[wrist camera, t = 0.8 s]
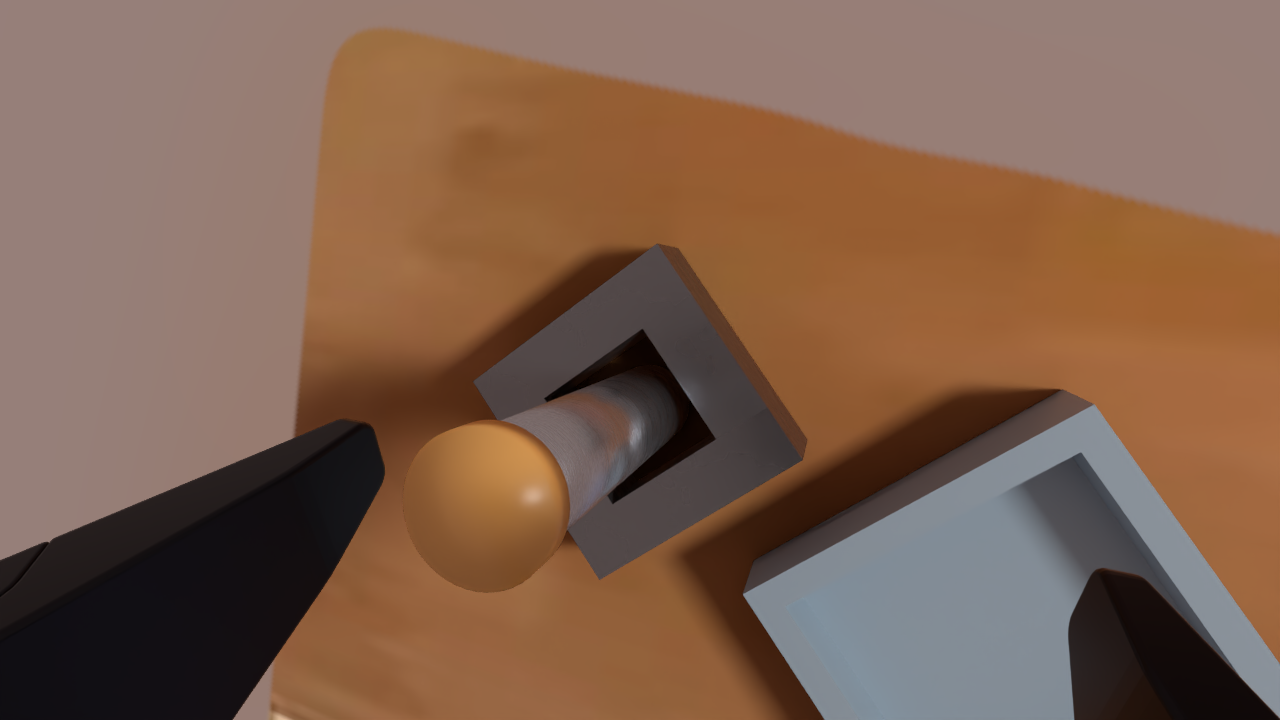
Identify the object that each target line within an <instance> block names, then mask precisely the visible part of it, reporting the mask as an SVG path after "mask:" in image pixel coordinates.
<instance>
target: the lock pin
mask: <svg viewBox="0 0 1280 720" xmlns="http://www.w3.org/2000/svg"><path fill="white" fill-rule="evenodd" d="M688 413H689V398H688V396H687V394H686V393H685V391H684V390H683V388H682V387H681V385H680V384H679V382H678V381H677V379H676V378H675V376H674V375H673V373H672V372H671V371H670V370H668V369H666V368H664V367H661V366H657V365H642V366H638V367H636V368H633V369H631V370H628V371H625V372H623V373H620V374H618V375H615V376H613V377H610V378H608V379H605V380H603V381H600V382H597V383H595V384H592V385H590V386H587V387H585V388H582V389H580V390H577V391H575V392H572V393H570V394H567V395H564V396H562V397H559V398H557V399H554V400H552V401H549V402H547V403H544V404H542V405H539V406H536V407H534V408H531V409H529V410H526V411H524V412H521V413H519V414H516V415H514V416H511V417H508V418H506V419H503V420H501V421H500V420H479V421H474V422H471V423H467V424H465V425H462V426H459V427H456V428H454V429H451V430H448V431H446V432H444V433H441V434H439V435H437V436H436V437H434V438H433V439H431V440H430V441H429V442H428V443H426V444H425V445H424V446H423V447H422V448H421V450H420V451H419V452H418V453H417V455H416V456H415V458H414V459H413V461H412V463H411V465H410V467H409V469H408V472H407V475H406V478H405V483H404V488H403V512H404V518H405V522H406V526H407V529H408V532H409V535H410V537H411V539H412V542H413V543H414V545H415V547H416V549H417V551H418V552H419V554H420V555H421V556H422V558H423V559H424V560H425V561H426V563H427V564H428V565H429V566H430V567H431V568H432V569H433V570H434V571H435V572H436V573H437V574H439V575H440V576H441V577H443V578H444V579H446V580H447V581H449V582H451V583H453V584H454V585H456V586H459V587H461V588H464V589H467V590H471V591H475V592H484V593H488V592H499V591H504V590H507V589H510V588H513V587H515V586H517V585H519V584H521V583H523V582H524V581H525V580H527V579H528V578H530V577H531V576H532V575H533V574H534V573H535V572H536V571H537V570H538V569H539V568H540V567H541V566H543V565H544V564H545V563H546V562H547V561H548V560H549V559H550V558H551V557H552V556H553V555H554V553H555V552H556V551H557V549H558V548H559V546H560V544H561V543H562V541H563V539H564V536H565V534H566V531H567V530H568V529H570V528H571V527H572V526H573V525H574V524H575V523H576V522H577V521H579V520H580V519H581V518H582V517H583V516H584V515H585V514H587V513H588V512H589V511H590V510H591V509H592V508H593V507H594V506H596V505H597V504H598V503H599V502H600V501H601V500H602V499H603V498H605V497H606V496H607V495H608V494H609V493H610V492H611V491H612V490H614V489H615V488H616V487H617V486H618V485H619V484H620V483H622V482H623V481H624V480H625V479H626V478H627V477H628V476H629V475H631V474H632V473H633V472H634V471H635V470H636V469H637V468H638V467H640V466H641V465H642V464H643V463H644V462H645V461H646V460H647V459H649V458H650V457H651V456H652V455H653V454H654V453H655V452H657V451H658V450H659V449H660V448H661V447H662V446H663V445H664V444H666V443H667V442H668V441H669V440H670V439H671V438H672V437H673V436H675V435H676V434H677V433H678V432H679V431H680V430H681V428H682V427H683V426H684V424H685V422H686V420H687V417H688Z"/></svg>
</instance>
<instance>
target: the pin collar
mask: <svg viewBox="0 0 1280 720" xmlns="http://www.w3.org/2000/svg"><path fill="white" fill-rule="evenodd" d="M647 336H648V337H649V339H650V340H651V342H652V343H653V345H654V346H655V348H656V349H657V351H658V352H659V354H660V355H661V357H662V358H663V360H664V361H665V363H666V364H667V366H668V367H669V369H670V370H671V372H672V373H673V375H674V376H675V378H676V379H677V381H678V382H679V384H680V385H681V387H682V388H683V390H684V391H685V393H686V394H687V396H688V397H689V399H690V400H691V402H692V404H693V405H694V407H695V408H696V410H697V411H698V413H699V414H700V416H701V417H702V419H703V420H704V422H705V423H706V425H707V426H708V428H709V429H710V431H711V432H712V434H711V435H709V436H708V437H706V438H705V439H703V440H701V441H700V442H698V443H697V444H695V445H694V446H692V447H690V448H689V449H687V450H686V451H684V452H682V453H681V454H679V455H678V456H676V457H675V458H673V459H671V460H670V461H668V462H667V463H665V464H663V465H662V466H660V467H659V468H657V469H655V470H654V471H652V472H651V473H649V474H648V475H646V476H644V477H643V478H641V479H640V480H638V481H637V480H636V479H635V477H634V476H633V474H631V475H629V476H628V477H627V478H626V479H625V480H624V481H623V482H622V483H620V484H619V485H618V486H617V487H616V488H615V489H614V490H612V491H611V492H610V493H609V494H608V495H607V496H606V497H605V498H603V499H602V500H601V501H600V502H599V503H598V504H597V505H596V506H594V507H593V508H592V509H591V510H590V511H589V512H588V513H587V514H585V515H584V516H583V517H582V518H581V519H580V520H579V521H577V522H576V523H575V524H574V525H573V526H572V527H571V528H570V529H568V531H569V533H570V534H571V536H572V537H573V539H574V540H575V542H576V544H577V545H578V547H579V548H580V550H581V551H582V553H583V555H584V556H585V558H586V559H587V561H588V562H589V564H590V566H591V567H592V569H593V570H594V572H595V573H596V575H597V576H598V578H599V580H600V579H602V578H603V577H605V576H607V575H608V574H610V573H612V572H614V571H615V570H617V569H619V568H620V567H622V566H624V565H625V564H627V563H629V562H631V561H632V560H634V559H636V558H637V557H639V556H641V555H642V554H644V553H646V552H647V551H649V550H651V549H653V548H654V547H656V546H658V545H659V544H661V543H663V542H664V541H666V540H668V539H670V538H671V537H673V536H675V535H676V534H678V533H680V532H681V531H683V530H685V529H686V528H688V527H690V526H692V525H693V524H695V523H697V522H698V521H700V520H702V519H703V518H705V517H707V516H709V515H710V514H712V513H714V512H715V511H717V510H719V509H720V508H722V507H724V506H725V505H727V504H729V503H731V502H732V501H734V500H736V499H737V498H739V497H741V496H742V495H744V494H746V493H748V492H749V491H751V490H753V489H754V488H756V487H758V486H759V485H761V484H763V483H765V482H766V481H768V480H770V479H771V478H773V477H775V476H776V475H778V474H780V473H781V472H783V471H785V470H787V469H788V468H790V467H792V466H793V465H795V464H797V463H798V462H800V461H802V460H803V457H804V453H805V448H806V444H807V439H806V437H805V436H804V434H803V433H802V431H801V430H800V428H799V427H798V425H797V424H796V422H795V421H794V419H793V418H792V416H791V415H790V413H789V412H788V410H787V409H786V407H785V406H784V404H783V403H782V402H781V400H780V399H779V397H778V396H777V394H776V393H775V391H774V390H773V388H772V387H771V385H770V384H769V382H768V381H767V379H766V378H765V376H764V375H763V373H762V372H761V370H760V369H759V367H758V366H757V364H756V363H755V362H754V360H753V359H752V357H751V356H750V354H749V353H748V351H747V350H746V348H745V347H744V345H743V344H742V342H741V341H740V339H739V338H738V336H737V335H736V333H735V332H734V330H733V329H732V327H731V326H730V325H729V323H728V322H727V320H726V319H725V317H724V316H723V314H722V313H721V311H720V310H719V308H718V307H717V305H716V304H715V302H714V301H713V299H712V298H711V296H710V295H709V293H708V292H707V290H706V289H705V287H704V286H703V285H702V283H701V282H700V280H699V279H698V277H697V276H696V274H695V273H694V271H693V270H692V268H691V267H690V265H689V264H688V262H687V261H686V259H685V258H684V256H683V255H682V253H681V252H680V250H679V249H678V248H675V247H670V246H666V245H661V244H656V245H655V246H653V247H652V248H651V249H649V250H648V251H647V252H645V253H644V254H643V255H641V256H640V257H639V258H637V259H636V260H635V261H633V262H632V263H631V264H629V265H628V266H627V267H625V268H624V269H623V270H621V271H620V272H618V273H617V274H616V275H614V276H613V277H612V278H610V279H609V280H608V281H606V282H605V283H604V284H602V285H601V286H600V287H598V288H597V289H596V290H594V291H593V292H592V293H590V294H589V295H588V296H586V297H585V298H584V299H582V300H581V301H580V302H578V303H577V304H576V305H574V306H573V307H572V308H570V309H569V310H568V311H566V312H565V313H564V314H562V315H561V316H560V317H558V318H557V319H556V320H554V321H553V322H552V323H550V324H549V325H548V326H546V327H545V328H544V329H542V330H541V331H540V332H538V333H537V334H536V335H534V336H533V337H532V338H530V339H529V340H528V341H526V342H525V343H524V344H522V345H521V346H520V347H518V348H517V349H516V350H514V351H513V352H512V353H510V354H509V355H507V356H506V357H505V358H503V359H502V360H501V361H499V362H498V363H497V364H495V365H494V366H493V367H491V368H490V369H489V370H487V371H486V372H485V373H483V374H482V375H481V376H479V377H478V378H477V379H475V380H474V381H473V382H474V384H475V385H476V387H477V389H478V390H479V392H480V393H481V395H482V396H483V398H484V400H485V401H486V403H487V404H488V406H489V407H490V409H491V411H492V412H493V414H494V415H495V417H496V418H497V420H500V421H501V420H503V419H506V418H508V417H511V416H514V415H516V414H519V413H521V412H524V411H526V410H529V409H531V408H534V407H536V406H539V405H542V404H544V403H547V402H549V401H552V400H554V399H557V398H559V397H562V396H564V395H567V394H570V393H572V392H575V391H577V388H576V387H575V386H577V385H578V384H580V383H581V382H583V381H584V380H585V379H587V378H588V377H590V376H591V375H593V374H594V373H595V372H597V371H598V370H600V369H601V368H602V367H604V366H605V365H607V364H608V363H610V362H611V361H612V360H614V359H615V358H617V357H618V356H620V355H621V354H622V353H624V352H625V351H627V350H628V349H629V348H631V347H632V346H634V345H635V344H637V343H638V342H639V341H641V340H642V339H644V338H645V337H647Z"/></svg>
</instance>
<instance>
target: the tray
mask: <svg viewBox="0 0 1280 720" xmlns="http://www.w3.org/2000/svg"><path fill="white" fill-rule="evenodd" d="M1098 568H1108V569H1113V570H1118V571H1123V572H1128V573H1133V574H1137V575H1139V576H1142V577H1143V578H1145V579H1146V580H1147V581H1148V582H1149V583H1150V584H1151V585H1152V586H1153V587H1154V588H1155V589H1156V590H1157V591H1158V592H1159V593H1160V594H1161V595H1162V596H1163V597H1164V598H1165V599H1166V600H1167V601H1168V602H1169V603H1170V604H1171V605H1172V607H1173V608H1174V609H1175V610H1176V611H1177V612H1178V613H1179V614H1180V615H1181V616H1182V617H1183V618H1184V619H1185V620H1186V621H1187V622H1188V623H1189V624H1190V625H1191V626H1192V627H1193V628H1194V629H1195V630H1196V631H1197V633H1198V634H1199V635H1200V636H1201V637H1202V638H1203V639H1204V640H1205V641H1206V642H1207V643H1208V644H1209V645H1210V646H1211V647H1212V648H1213V649H1214V650H1215V651H1216V652H1217V653H1218V654H1219V655H1220V656H1221V657H1222V658H1223V660H1224V661H1225V662H1226V663H1227V664H1228V665H1229V666H1230V667H1231V668H1232V669H1233V670H1234V671H1235V672H1236V673H1237V674H1238V675H1239V676H1240V677H1241V678H1242V679H1243V680H1244V681H1245V682H1246V683H1247V684H1248V686H1249V687H1250V688H1251V689H1252V690H1253V691H1254V692H1255V693H1256V694H1257V695H1258V696H1259V697H1260V698H1261V699H1262V700H1263V701H1264V702H1265V703H1266V704H1267V705H1268V706H1269V707H1270V708H1271V709H1272V710H1273V712H1274V713H1275V714H1276V715H1277V716H1278V717H1279V718H1280V664H1279V662H1278V661H1277V660H1276V658H1275V657H1274V655H1273V654H1272V653H1271V651H1270V650H1269V648H1268V647H1267V646H1266V644H1265V643H1264V641H1263V640H1262V639H1261V637H1260V636H1259V634H1258V633H1257V632H1256V630H1255V629H1254V627H1253V626H1252V625H1251V623H1250V622H1249V620H1248V619H1247V618H1246V616H1245V615H1244V613H1243V612H1242V611H1241V609H1240V608H1239V606H1238V605H1237V604H1236V602H1235V601H1234V599H1233V598H1232V597H1231V595H1230V594H1229V592H1228V591H1227V590H1226V588H1225V587H1224V585H1223V584H1222V583H1221V581H1220V580H1219V578H1218V577H1217V575H1216V574H1215V573H1214V571H1213V570H1212V568H1211V567H1210V566H1209V564H1208V563H1207V561H1206V560H1205V559H1204V557H1203V556H1202V554H1201V553H1200V552H1199V550H1198V549H1197V547H1196V546H1195V545H1194V543H1193V542H1192V540H1191V539H1190V538H1189V536H1188V535H1187V533H1186V532H1185V531H1184V529H1183V528H1182V526H1181V525H1180V524H1179V522H1178V521H1177V519H1176V518H1175V517H1174V515H1173V514H1172V512H1171V511H1170V510H1169V508H1168V507H1167V505H1166V504H1165V503H1164V501H1163V500H1162V498H1161V497H1160V496H1159V494H1158V493H1157V491H1156V490H1155V489H1154V487H1153V486H1152V484H1151V483H1150V482H1149V480H1148V479H1147V477H1146V476H1145V475H1144V473H1143V472H1142V470H1141V469H1140V468H1139V466H1138V465H1137V463H1136V462H1135V461H1134V459H1133V458H1132V456H1131V455H1130V454H1129V452H1128V451H1127V449H1126V448H1125V447H1124V445H1123V444H1122V442H1121V441H1120V440H1119V438H1118V437H1117V435H1116V434H1115V433H1114V431H1113V430H1112V428H1111V427H1110V426H1109V424H1108V423H1107V421H1106V420H1105V419H1104V417H1103V416H1102V414H1101V413H1100V412H1099V410H1098V409H1097V407H1096V406H1095V405H1094V404H1092V403H1090V402H1088V401H1086V400H1084V399H1082V398H1080V397H1078V396H1076V395H1073V394H1071V393H1069V392H1067V391H1065V390H1063V389H1062V390H1060V391H1059V392H1057V393H1055V394H1053V395H1051V396H1050V397H1048V398H1046V399H1044V400H1042V401H1041V402H1039V403H1037V404H1035V405H1033V406H1032V407H1030V408H1028V409H1026V410H1024V411H1022V412H1021V413H1019V414H1017V415H1015V416H1013V417H1012V418H1010V419H1008V420H1006V421H1004V422H1003V423H1001V424H999V425H997V426H995V427H994V428H992V429H990V430H988V431H986V432H985V433H983V434H981V435H979V436H977V437H976V438H974V439H972V440H970V441H968V442H967V443H965V444H963V445H961V446H959V447H958V448H956V449H954V450H952V451H950V452H948V453H947V454H945V455H943V456H941V457H939V458H938V459H936V460H934V461H932V462H930V463H929V464H927V465H925V466H923V467H921V468H920V469H918V470H916V471H914V472H912V473H911V474H909V475H907V476H905V477H903V478H902V479H900V480H898V481H896V482H894V483H893V484H891V485H889V486H887V487H885V488H884V489H882V490H880V491H878V492H876V493H874V494H873V495H871V496H869V497H867V498H865V499H864V500H862V501H860V502H858V503H856V504H855V505H853V506H851V507H849V508H847V509H846V510H844V511H842V512H840V513H838V514H837V515H835V516H833V517H831V518H829V519H828V520H826V521H824V522H822V523H820V524H819V525H817V526H815V527H813V528H811V529H810V530H808V531H806V532H804V533H802V534H800V535H799V536H797V537H795V538H793V539H791V540H790V541H788V542H786V543H784V544H782V545H781V546H779V547H777V548H775V549H773V550H772V551H770V552H768V553H766V554H764V555H763V556H761V557H759V558H757V559H755V560H754V561H753V564H752V567H751V570H750V573H749V577H748V580H747V583H746V586H745V589H744V592H743V596H744V597H745V599H746V600H747V602H748V603H749V605H750V606H751V608H752V609H753V611H754V612H755V614H756V615H757V617H758V619H759V620H760V622H761V623H762V625H763V626H764V628H765V629H766V631H767V632H768V634H769V635H770V637H771V638H772V640H773V641H774V643H775V644H776V646H777V648H778V649H779V651H780V652H781V654H782V655H783V657H784V658H785V660H786V661H787V663H788V664H789V666H790V667H791V669H792V670H793V672H794V674H795V675H796V677H797V678H798V680H799V681H800V683H801V684H802V686H803V687H804V689H805V690H806V692H807V693H808V695H809V696H810V698H811V699H812V701H813V703H814V704H815V706H816V707H817V709H818V710H819V712H820V713H821V715H822V716H823V718H824V719H825V720H1074V711H1073V698H1072V684H1071V671H1070V658H1069V645H1068V627H1069V621H1070V617H1071V614H1072V612H1073V610H1074V608H1075V606H1076V604H1077V602H1078V600H1079V598H1080V596H1081V594H1082V592H1083V589H1084V587H1085V585H1086V583H1087V581H1088V579H1089V577H1090V575H1091V574H1092V573H1093V572H1094V571H1095V570H1096V569H1098Z"/></svg>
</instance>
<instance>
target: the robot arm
mask: <svg viewBox="0 0 1280 720" xmlns="http://www.w3.org/2000/svg"><path fill="white" fill-rule="evenodd" d="M384 475H385V466H384V462H383V459H382V455H381V452H380V448H379V445H378V442H377V438H376V435H375V432H374V429H373V428H372V427H371V426H370V424H368V423H365V422H361V421H356V420H350V419H339V420H336V421H334V422H332V423H329V424H327V425H324V426H322V427H320V428H317V429H315V430H312V431H310V432H308V433H305V434H303V435H300V436H298V437H296V438H293V439H291V440H288V441H286V442H284V443H281V444H279V445H276V446H274V447H272V448H269V449H267V450H265V451H262V452H260V453H257V454H255V455H252V456H250V457H248V458H245V459H243V460H240V461H238V462H236V463H233V464H231V465H228V466H226V467H224V468H221V469H219V470H217V471H214V472H212V473H209V474H207V475H205V476H202V477H200V478H197V479H195V480H192V481H190V482H188V483H185V484H183V485H180V486H178V487H176V488H173V489H171V490H169V491H166V492H164V493H161V494H159V495H156V496H154V497H152V498H149V499H147V500H144V501H142V502H140V503H137V504H135V505H132V506H130V507H128V508H125V509H123V510H121V511H118V512H116V513H114V514H111V515H109V516H106V517H104V518H101V519H99V520H96V521H95V522H92V523H89V524H87V525H84V526H82V527H80V528H78V529H75V530H72V531H70V532H68V533H65V534H63V535H60V536H58V537H56V538H54V539H52V540H51V541H50V543H49V542H44V543H41V544H38V545H36V546H34V547H31V548H29V549H26V550H24V551H22V552H20V553H17V554H15V555H12V556H10V557H7V558H5V559H2V560H0V720H233V719H234V717H235V716H236V714H237V713H238V711H239V710H240V708H241V707H242V705H243V704H244V703H245V701H246V700H247V698H248V697H249V695H250V694H251V692H252V691H253V689H254V688H255V687H256V685H257V684H258V682H259V681H260V679H261V678H262V676H263V675H264V673H265V672H266V671H267V669H268V667H269V666H270V665H271V663H272V662H273V660H274V659H275V657H276V656H277V654H278V653H279V652H280V650H281V649H282V647H283V646H284V644H285V643H286V641H287V640H288V638H289V637H290V636H291V634H292V633H293V631H294V630H295V628H296V627H297V625H298V624H299V622H300V621H301V619H302V618H303V617H304V615H305V614H306V612H307V611H308V609H309V608H310V606H311V605H312V603H313V602H314V601H315V599H316V598H317V596H318V595H319V593H320V592H321V590H322V589H323V587H324V586H325V584H326V583H327V581H328V580H329V578H330V576H331V575H332V573H333V571H334V570H335V568H336V566H337V564H338V563H339V561H340V559H341V558H342V556H343V554H344V552H345V550H346V548H347V547H348V545H349V543H350V541H351V539H352V538H353V536H354V534H355V532H356V530H357V529H358V527H359V525H360V523H361V521H362V520H363V518H364V516H365V514H366V512H367V510H368V509H369V507H370V505H371V503H372V501H373V500H374V498H375V496H376V494H377V492H378V491H379V489H380V487H381V485H382V483H383V479H384ZM1068 645H1069V658H1070V671H1071V684H1072V698H1073V711H1074V720H1280V718H1279V717H1278V716H1277V715H1276V714H1275V713H1274V712H1273V710H1272V709H1271V708H1270V707H1269V706H1268V705H1267V704H1266V703H1265V702H1264V701H1263V700H1262V699H1261V698H1260V697H1259V696H1258V695H1257V694H1256V693H1255V692H1254V691H1253V690H1252V689H1251V688H1250V687H1249V686H1248V684H1247V683H1246V682H1245V681H1244V680H1243V679H1242V678H1241V677H1240V676H1239V675H1238V674H1237V673H1236V672H1235V671H1234V670H1233V669H1232V668H1231V667H1230V666H1229V665H1228V664H1227V663H1226V662H1225V661H1224V660H1223V658H1222V657H1221V656H1220V655H1219V654H1218V653H1217V652H1216V651H1215V650H1214V649H1213V648H1212V647H1211V646H1210V645H1209V644H1208V643H1207V642H1206V641H1205V640H1204V639H1203V638H1202V637H1201V636H1200V635H1199V634H1198V633H1197V631H1196V630H1195V629H1194V628H1193V627H1192V626H1191V625H1190V624H1189V623H1188V622H1187V621H1186V620H1185V619H1184V618H1183V617H1182V616H1181V615H1180V614H1179V613H1178V612H1177V611H1176V610H1175V609H1174V608H1173V607H1172V605H1171V604H1170V603H1169V602H1168V601H1167V600H1166V599H1165V598H1164V597H1163V596H1162V595H1161V594H1160V593H1159V592H1158V591H1157V590H1156V589H1155V588H1154V587H1153V586H1152V585H1151V584H1150V583H1149V582H1148V581H1147V580H1146V579H1145V578H1143V577H1142V576H1139V575H1137V574H1133V573H1128V572H1123V571H1118V570H1113V569H1108V568H1098V569H1096V570H1095V571H1094V572H1093V573H1092V574H1091V575H1090V577H1089V579H1088V581H1087V583H1086V585H1085V587H1084V589H1083V592H1082V594H1081V596H1080V598H1079V600H1078V602H1077V604H1076V606H1075V608H1074V610H1073V612H1072V614H1071V617H1070V621H1069V627H1068Z"/></svg>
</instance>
